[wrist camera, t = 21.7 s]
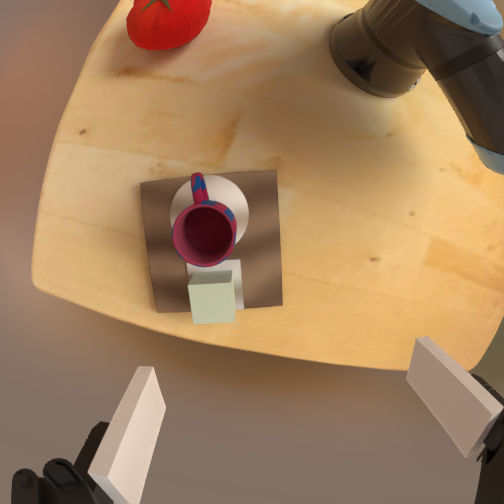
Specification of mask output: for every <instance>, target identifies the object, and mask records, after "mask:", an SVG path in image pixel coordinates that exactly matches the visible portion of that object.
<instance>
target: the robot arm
mask: <svg viewBox="0 0 504 504" xmlns="http://www.w3.org/2000/svg"><path fill="white" fill-rule="evenodd" d="M502 27H503V21H502V18H501V15H500V13H499V12H498V11H497V10H496V6H495V4H494V3H493V1H492V0H369V1H368V2H367V4H366V5H365V6H364V7H363V8H361V9H359V10H357V11H355V12H354V13H351V14H348V15H346V16H344V17H343V18H342V19H341V20H339V22H338V23H337V24H336V26H335V27H334V29H333V31H332V33H331V36H330V50H331V53H332V56H333V58H334V61H335V62H336V64H337V66H338V67H339V69H340V70H341V71H342V72H343V74H344V75H345V76H346V77H347V78H348V79H349V80H350V81H351V82H353V83H354V84H355V85H357V86H358V87H359V88H361V89H363V90H364V91H366V92H368V93H371V94H373V95H376V96H380V97H386V98H393V97H398V96H401V95H403V94H405V93H407V92H409V91H411V90H412V89H413V88H414V87H415V86H416V85H417V84H418V82H419V80H420V78H421V75H422V74H423V73H424V72H425V70H426V69H428V70H429V72H430V73H431V75H432V76H433V78H434V79H435V81H436V82H437V84H438V85H439V87H440V88H441V90H442V91H443V93H444V95H445V96H446V98H447V99H448V101H449V103H450V104H451V106H452V108H453V110H454V111H455V113H456V115H457V117H458V119H459V121H460V122H461V124H462V126H463V128H464V130H465V133H466V137H467V139H468V140H469V141H470V143H471V144H472V145H473V147H474V149H475V151H476V153H477V155H478V157H479V159H480V160H481V162H482V163H483V164H484V165H485V166H486V167H487V168H489V169H491V170H492V171H493V172H495V173H498V174H501V175H504V41H503V39H502V38H501V36H500V35H499V33H500V32H501V29H502ZM406 380H407V381H408V383H409V384H410V385H411V386H412V388H413V389H414V390H415V392H416V393H417V394H418V395H419V397H420V398H421V399H422V400H423V402H424V403H425V404H426V406H427V407H428V408H429V409H430V411H431V412H432V413H433V415H434V416H435V417H436V419H437V420H438V421H439V423H440V424H441V425H442V427H443V428H444V429H445V431H446V432H447V433H448V435H449V436H450V437H451V438H452V440H453V441H454V443H455V444H456V446H457V447H458V448H459V450H460V451H461V452H462V454H463V455H464V457H465V458H466V457H468V456H470V455H471V454H473V453H475V452H476V451H477V450H478V449H479V447H480V446H481V444H482V443H483V442H484V444H485V445H486V446H485V448H484V449H483V450H482V452H481V453H480V455H479V456H478V457H477V460H476V461H479V459H480V458H481V457H482V455H483V457H482V460H481V462H482V465H481V472H480V478H479V484H478V489H477V494H476V498H475V503H474V504H504V398H502V397H501V396H500V395H499V394H498V393H497V392H496V391H495V390H494V389H492V387H491V386H490V385H488V384H487V382H486V381H484V380H483V379H482V378H481V377H479V376H477V375H475V374H471V375H470V374H469V373H468V372H467V371H466V370H465V369H464V368H463V367H461V366H460V365H459V364H458V363H457V362H456V361H455V360H454V359H453V358H452V357H450V356H449V355H448V354H447V353H446V352H445V351H444V350H443V349H442V348H440V347H439V346H438V345H437V344H436V343H435V342H434V341H432V340H431V339H430V338H429V337H428V336H424V337H420V338H416V341H415V345H414V350H413V354H412V358H411V363H410V367H409V370H408V375H407V378H406ZM165 409H166V407H165V404H164V400H163V397H162V394H161V391H160V388H159V385H158V381H157V378H156V375H155V371H154V368H153V367H144V366H143V367H142V366H139V367H138V369H137V371H136V373H135V374H134V376H133V378H132V380H131V382H130V384H129V386H128V388H127V390H126V392H125V394H124V396H123V398H122V400H121V402H120V404H119V406H118V408H117V410H116V412H115V414H114V416H113V418H112V420H111V422H110V423H107V422H101V421H100V423H98V424H97V425H96V426H95V427H93V428H92V430H91V432H90V434H89V436H88V439H87V440H86V442H85V445H84V446H83V448H82V449H81V451H80V454H79V456H78V457H77V460H76V462H75V463H74V466H73V465H72V464H71V462H69V461H67V460H66V459H62V458H57V459H52V460H50V461H49V462H48V463H46V464H45V466H44V468H43V476H44V477H45V478H42V477H38V476H37V475H36V473H35V472H33V471H32V470H30V469H20V470H19V471H17V472H16V473H15V474H14V476H13V479H12V494H11V495H12V497H11V504H113V502H114V503H115V504H139V503H140V499H141V495H142V491H143V487H144V484H145V480H146V476H147V472H148V468H149V465H150V461H151V458H152V454H153V451H154V447H155V443H156V440H157V437H158V433H159V430H160V426H161V423H162V419H163V416H164V413H165Z"/></svg>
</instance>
